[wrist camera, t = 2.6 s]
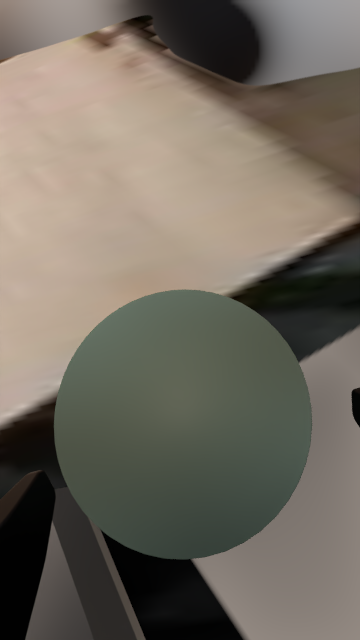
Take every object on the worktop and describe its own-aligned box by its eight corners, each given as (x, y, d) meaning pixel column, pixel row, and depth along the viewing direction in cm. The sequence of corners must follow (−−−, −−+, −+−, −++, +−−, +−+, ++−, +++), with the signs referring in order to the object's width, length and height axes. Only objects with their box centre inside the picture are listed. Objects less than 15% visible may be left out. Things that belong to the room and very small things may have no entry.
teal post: (258, 453, 16) (375, 438, 4) (197, 499, 15) (126, 638, 3) (214, 391, 17) (207, 254, 6) (158, 431, 17) (20, 368, 5)
